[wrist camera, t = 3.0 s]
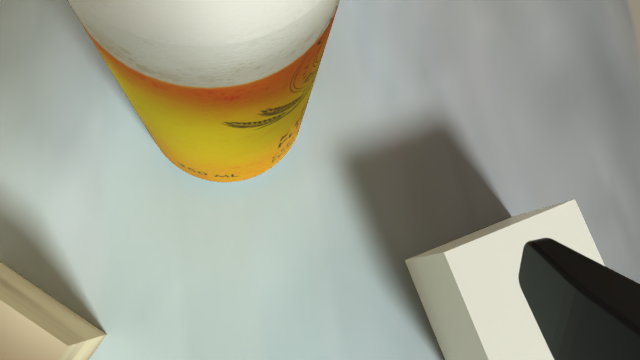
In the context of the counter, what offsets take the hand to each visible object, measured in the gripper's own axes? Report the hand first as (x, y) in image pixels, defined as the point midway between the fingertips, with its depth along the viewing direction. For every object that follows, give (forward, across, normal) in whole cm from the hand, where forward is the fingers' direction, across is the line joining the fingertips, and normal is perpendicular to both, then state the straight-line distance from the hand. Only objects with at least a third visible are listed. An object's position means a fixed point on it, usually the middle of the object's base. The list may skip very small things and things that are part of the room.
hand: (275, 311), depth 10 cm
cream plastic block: (+8, -9, +11) cm, 16 cm away
